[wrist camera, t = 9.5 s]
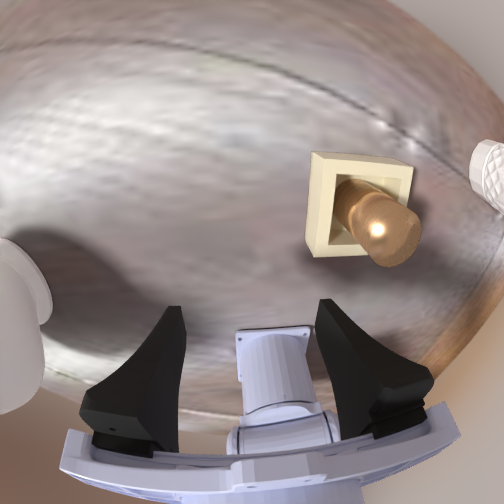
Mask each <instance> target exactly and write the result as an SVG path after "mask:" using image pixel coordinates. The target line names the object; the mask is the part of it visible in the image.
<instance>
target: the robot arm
mask: <svg viewBox="0 0 504 504" xmlns="http://www.w3.org/2000/svg"><path fill="white" fill-rule="evenodd" d="M314 328H315V332H316V337H317V342H318V345H319V348H320V351H321V354H322V356H323V359H324V362H325V365H326V367H327V370H328V373H329V376H330V379H331V383H332V387H333V392H334V396H335V402H336V407H337V413H338V416H337V414H335V413H334V412H332V411H331V410H324V411H323V410H322V406H321V403H320V402H317V399H316V395H315V391H314V387H313V383H312V379H311V376H310V372H309V368H308V364H307V361H306V357H305V354H306V350H307V345H308V341H309V336H310V327H308V326H302V327H290V328H277V329H262V330H243V331H237V332H236V333H235V337H236V353H237V367H238V380H239V381H240V382H242V392H243V408H244V416H240V426H235V427H233V429H232V431H231V432H230V433H229V435H228V438H227V455H206V454H184V453H183V454H182V453H179V446H178V396H179V385H180V379H181V374H182V368H183V362H184V357H185V351H186V334H187V333H186V329H185V325H184V320H183V316H182V311H181V306H169V307H168V308H167V309H166V311H165V312H164V314H163V316H162V317H161V319H160V320H159V322H158V323H157V325H156V326H155V327H154V329H153V330H152V332H151V333H150V335H149V336H148V337H147V338H146V340H145V341H144V342H143V343H142V345H141V346H140V347H139V348H138V349H137V351H136V352H135V353H134V354H133V355H132V356H131V357H130V358H129V359H128V360H127V361H126V362H125V363H124V364H123V365H122V366H121V367H120V368H118V369H117V370H116V371H115V372H114V373H112V374H111V375H110V376H108V377H107V378H106V379H104V380H103V381H101V382H100V383H98V384H97V385H95V386H93V387H92V388H90V389H88V390H87V391H86V393H85V395H84V398H83V401H82V404H81V408H80V411H79V414H80V417H81V418H82V419H83V420H84V421H85V422H86V423H87V424H88V425H89V426H90V427H91V428H92V429H93V430H94V434H93V436H92V435H90V434H88V433H84V432H81V431H77V430H74V429H69V430H68V433H67V438H66V441H65V445H64V449H63V453H62V458H61V463H60V467H59V468H60V470H62V471H64V472H65V473H67V474H69V475H71V476H72V477H74V478H76V479H78V480H80V481H82V482H84V483H86V484H90V485H93V486H96V487H99V488H103V489H106V490H110V491H113V492H117V493H121V494H125V495H129V496H133V497H137V498H142V499H147V500H152V501H158V502H163V503H170V504H365V503H364V499H363V495H362V491H361V487H362V486H365V485H368V484H370V483H373V482H376V481H379V480H381V479H384V478H386V477H389V476H391V475H394V474H396V473H398V472H401V471H403V470H405V469H407V468H410V467H412V466H414V465H416V464H418V463H420V462H422V461H424V460H427V459H429V458H430V457H433V456H435V455H436V454H438V453H439V452H441V451H442V450H444V449H445V448H446V447H448V446H449V445H450V444H452V443H453V442H454V441H456V440H457V439H458V438H460V437H461V434H460V432H459V429H458V427H457V425H456V423H455V421H454V419H453V417H452V415H451V412H450V410H449V408H448V406H447V404H446V402H441V403H439V404H437V405H434V406H432V407H430V408H428V409H427V410H424V408H423V406H424V405H425V402H424V400H423V398H424V397H425V396H426V395H427V393H428V392H429V391H430V390H431V388H432V387H433V384H434V379H433V377H432V375H431V373H430V371H429V370H428V368H427V367H425V366H423V365H420V364H417V363H415V362H412V361H410V360H408V359H406V358H404V357H402V356H400V355H398V354H396V353H394V352H393V351H391V350H389V349H388V348H386V347H384V346H383V345H381V344H380V343H379V342H377V341H376V340H375V339H373V338H372V337H371V336H369V335H368V334H367V333H366V332H365V331H363V330H362V329H361V328H360V327H359V326H358V325H357V324H356V323H354V322H353V321H352V320H351V319H350V318H349V317H348V316H347V315H346V314H345V313H344V312H343V311H342V310H341V309H340V308H339V306H338V305H337V304H336V303H335V302H334V301H333V300H332V299H320V301H319V307H318V312H317V317H316V322H315V326H314ZM305 333H306V334H305Z"/></svg>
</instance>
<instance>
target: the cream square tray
mask: <svg viewBox="0 0 504 504" xmlns="http://www.w3.org/2000/svg"><path fill="white" fill-rule="evenodd" d="M412 174H413V167H411V166H409V165H407V164H405V163H402V162H400V161H398V160H396V159H392V158H385V157H376V156H367V155H357V154H346V153H333V152H317V151H311V165H310V180H309V194H308V207H307V219H306V230H305V241H306V243H307V245H308V247H309V249H310V251H311V253H312V255H313V257H335V256H357V255H368V253H367V252H366V251H365V250H364V249H363V248H362V246H361V245H360V244H359V243H358V242H357V241H356V240H355V239H354V237H353V236H352V235H351V234H350V233H349V232H348V231H347V230H346V228H345V227H344V226H343V225H342V224H341V223H340V222H339V221H338V220H337V219H336V218H335V216H334V215H333V213H332V211H333V202H334V193H335V189H336V188H337V186H338V185H339V184H340V183H342V182H343V181H345V180H347V179H352V178H357V179H361V180H363V181H365V182H367V183H369V184H370V185H372V186H374V187H375V188H377V189H379V190H380V191H382V192H384V193H385V194H387V195H388V196H390V197H392V198H393V199H395V200H396V201H398V202H399V203H401V204H402V205H404V206H405V207H407V202H408V197H409V192H410V186H411V180H412Z"/></svg>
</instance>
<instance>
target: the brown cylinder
mask: <svg viewBox="0 0 504 504" xmlns="http://www.w3.org/2000/svg"><path fill="white" fill-rule="evenodd" d="M332 213H333V215H334V216H335V218H336V219H337V220H338V221H339V222H340V223H341V224H342V225H343V226H344V227H345V228H346V230H347V231H348V232H349V233H350V234H351V235H352V236H353V237H354V239H355V240H356V241H357V242H358V243H359V244H360V245H361V246H362V248H363V249H364V250H365V251H366V252H367V253H368V255H369V256H370V257H371V258H372V259H373V261H374V262H375V263H377V264H378V265H380V266H382V267H393V266H397V265H399V264H401V263H403V262H404V261H406V260H407V259H408V258H409V257H410V256H411V255H412V254H413V252H414V251H415V249H416V248H417V246H418V244H419V241H420V237H421V223H420V220H419V218H418V216H417V215H416V214H415V213H414V212H413V211H411V210H410V209H408V208H407V207H405V206H404V205H402V204H401V203H399V202H398V201H396V200H395V199H393V198H392V197H390V196H388V195H387V194H385V193H384V192H382V191H380V190H379V189H377V188H375V187H374V186H372V185H370V184H369V183H367V182H365V181H363V180H361V179H357V178H352V179H347V180H345V181H343V182H342V183H340V184H339V185H338V186H337V188H336V189H335V193H334V202H333V211H332Z"/></svg>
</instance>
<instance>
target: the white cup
mask: <svg viewBox="0 0 504 504" xmlns="http://www.w3.org/2000/svg"><path fill="white" fill-rule="evenodd" d="M469 179H470V183H471V187H472V190H473V191H474V192H475V193H476V194H477V195H478V196H479V197H481V198H482V199H484V200H485V201H487V202H488V203H490V205H491V206H493V207H494V208H495V209H496V210H498V211H499V212H501V213H502V214H503V215H504V144H503V143H498V142H495V141H492V140H488V139H485V140H483V141H481V142H479V143H478V145H477V146H476V148H475V149H474V151H473V153H472V157H471V160H470V164H469Z"/></svg>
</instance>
